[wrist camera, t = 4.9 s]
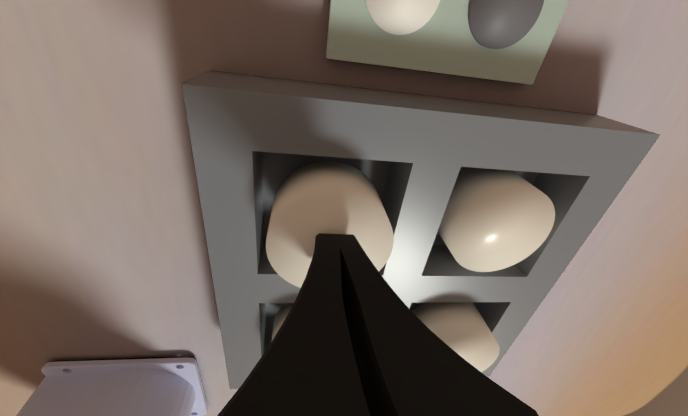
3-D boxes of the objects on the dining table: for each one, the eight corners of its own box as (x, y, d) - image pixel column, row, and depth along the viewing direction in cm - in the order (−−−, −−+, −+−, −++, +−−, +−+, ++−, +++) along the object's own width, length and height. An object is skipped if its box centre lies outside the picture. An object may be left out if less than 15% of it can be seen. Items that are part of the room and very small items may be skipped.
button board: (239, 344, 21) (229, 388, 18) (209, 71, 11) (181, 84, 9) (469, 338, 24) (489, 376, 21) (597, 115, 14) (660, 134, 12)
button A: (420, 238, 16) (438, 271, 14) (447, 159, 14) (472, 184, 12) (497, 240, 17) (525, 272, 15) (535, 166, 15) (575, 190, 12)
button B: (272, 250, 14) (266, 292, 12) (272, 157, 12) (264, 188, 9) (369, 252, 15) (380, 292, 13) (388, 165, 12) (406, 196, 10)
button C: (395, 344, 19) (407, 385, 17) (413, 295, 17) (429, 335, 15) (462, 342, 20) (480, 381, 18) (488, 295, 18) (514, 333, 15)
